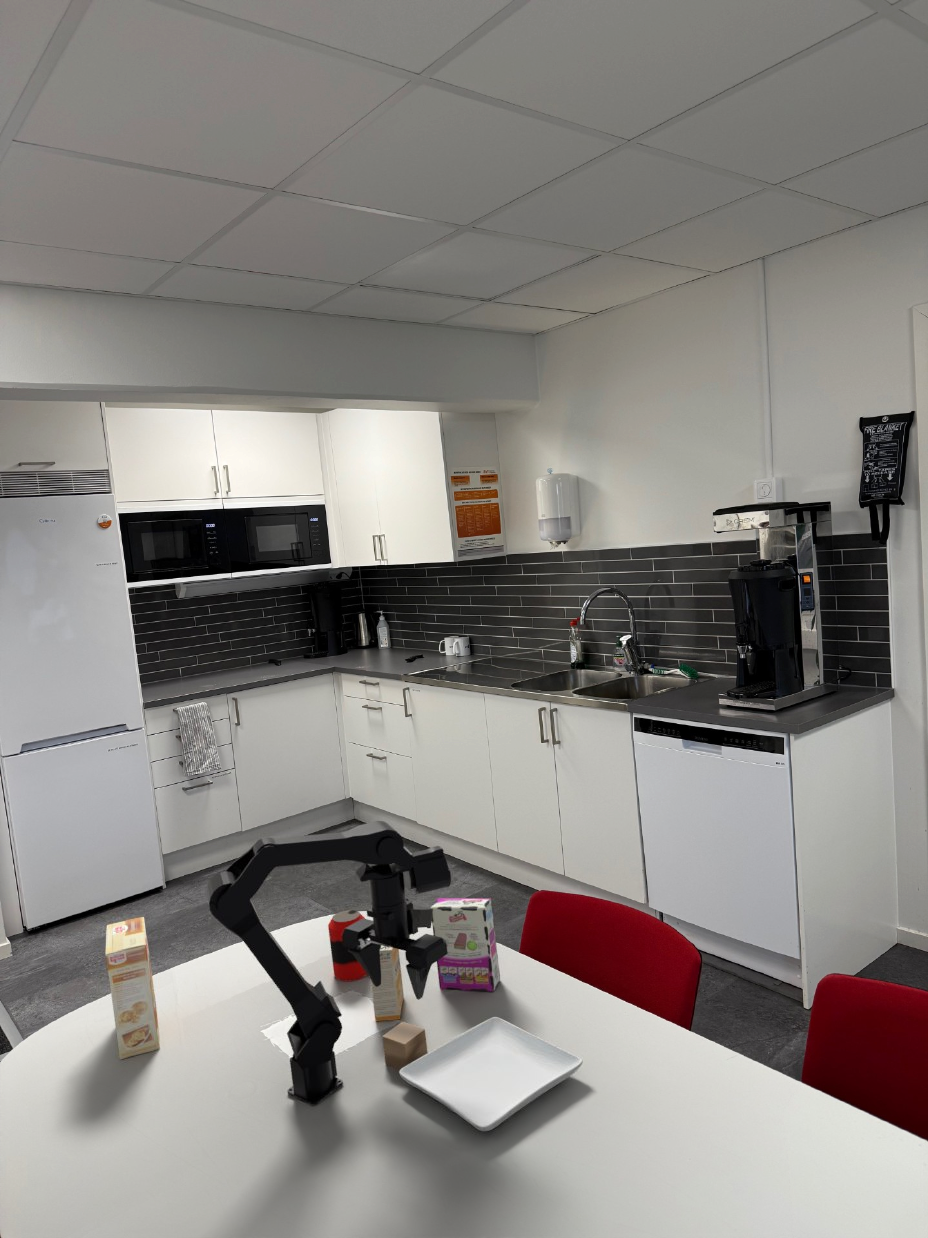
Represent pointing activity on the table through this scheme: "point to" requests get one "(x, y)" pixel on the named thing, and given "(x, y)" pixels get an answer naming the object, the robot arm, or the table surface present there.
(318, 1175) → the table surface
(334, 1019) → the robot arm
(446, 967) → the candy bar box
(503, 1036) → the salad plate
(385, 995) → the supplement box
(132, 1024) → the coffeecake box
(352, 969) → the soda can
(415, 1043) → the walnut cube
